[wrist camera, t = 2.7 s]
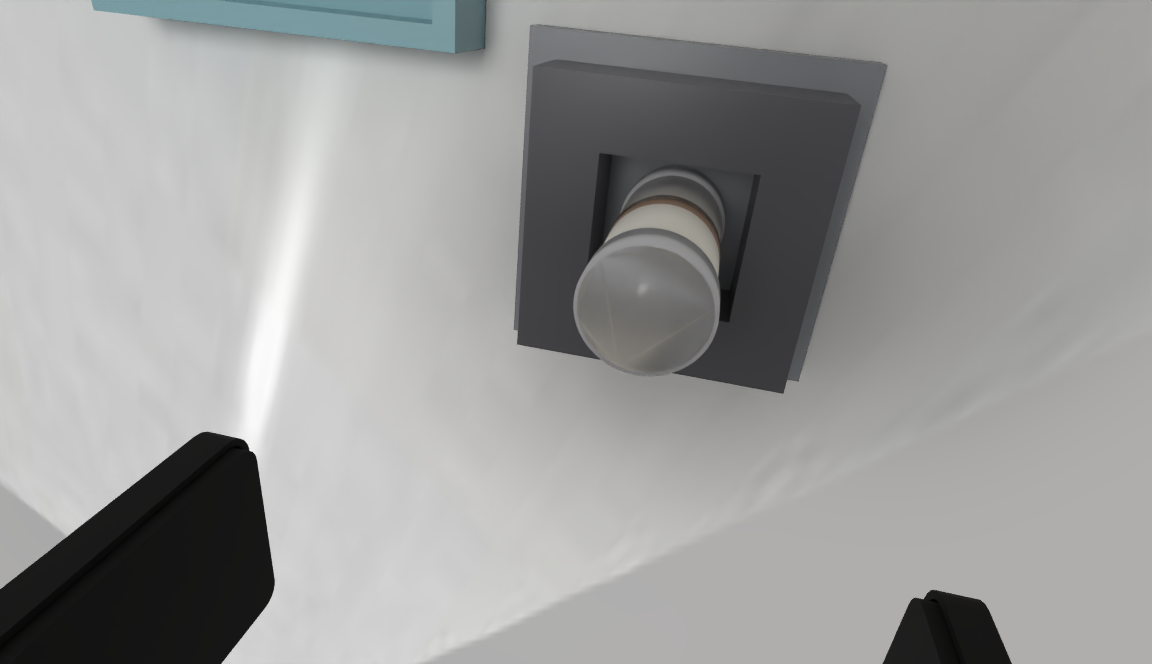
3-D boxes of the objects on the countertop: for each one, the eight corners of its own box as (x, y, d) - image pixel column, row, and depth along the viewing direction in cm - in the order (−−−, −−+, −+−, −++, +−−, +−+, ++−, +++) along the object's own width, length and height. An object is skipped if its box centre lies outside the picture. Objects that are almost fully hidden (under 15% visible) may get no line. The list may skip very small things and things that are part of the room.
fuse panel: (881, 62, 23) (907, 73, 19) (796, 369, 28) (804, 422, 25) (537, 24, 24) (503, 27, 21) (520, 320, 30) (491, 362, 26)
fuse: (734, 172, 24) (732, 254, 16) (715, 270, 26) (704, 387, 18) (630, 158, 25) (580, 231, 17) (618, 255, 27) (567, 362, 19)
